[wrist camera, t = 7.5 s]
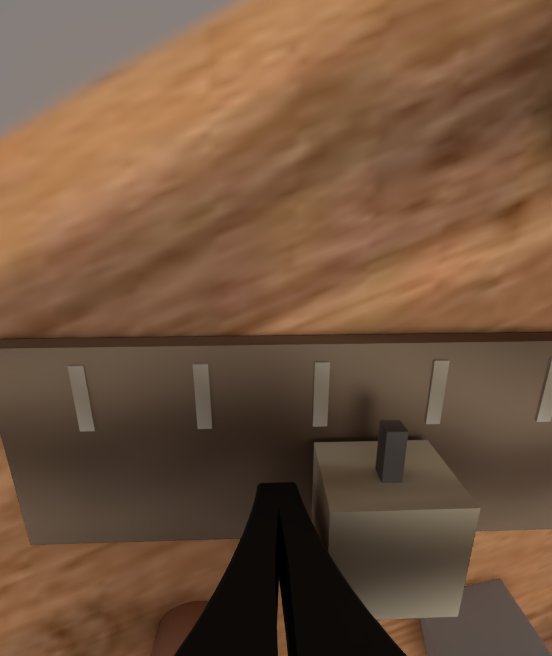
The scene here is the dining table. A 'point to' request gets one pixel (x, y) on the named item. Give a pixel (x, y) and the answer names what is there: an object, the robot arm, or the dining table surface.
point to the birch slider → (394, 523)
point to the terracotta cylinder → (176, 628)
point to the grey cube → (483, 626)
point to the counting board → (260, 424)
